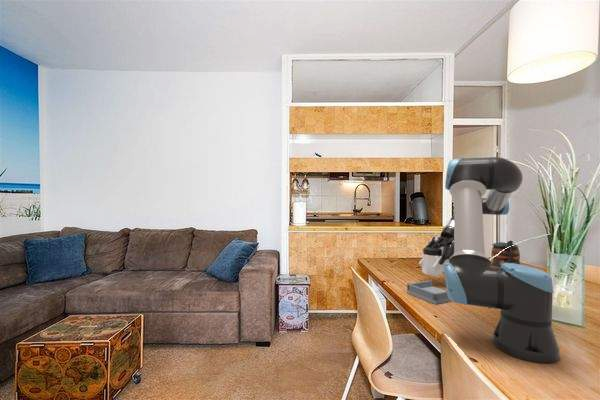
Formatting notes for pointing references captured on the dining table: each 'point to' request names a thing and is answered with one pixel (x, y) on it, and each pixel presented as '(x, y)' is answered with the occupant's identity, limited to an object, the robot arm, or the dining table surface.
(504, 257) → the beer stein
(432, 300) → the dock bay
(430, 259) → the jar
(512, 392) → the dining table surface
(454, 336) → the dining table surface
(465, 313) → the dining table surface
